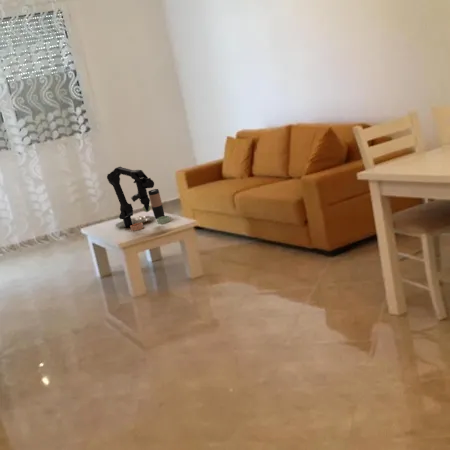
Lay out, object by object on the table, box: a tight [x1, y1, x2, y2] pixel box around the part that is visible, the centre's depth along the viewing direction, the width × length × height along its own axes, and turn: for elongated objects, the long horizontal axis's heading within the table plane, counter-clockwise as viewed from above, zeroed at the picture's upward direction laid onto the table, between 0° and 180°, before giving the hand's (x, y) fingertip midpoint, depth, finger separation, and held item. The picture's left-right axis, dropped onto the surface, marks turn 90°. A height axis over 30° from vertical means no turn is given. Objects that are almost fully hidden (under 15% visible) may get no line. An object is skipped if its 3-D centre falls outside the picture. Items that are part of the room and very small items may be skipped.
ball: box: [142, 205, 151, 213], centre depth 480 cm, size 5×5×5 cm
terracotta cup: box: [129, 222, 145, 232], centre depth 481 cm, size 8×8×3 cm
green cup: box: [156, 215, 171, 225], centre depth 484 cm, size 8×8×3 cm
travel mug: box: [147, 188, 166, 220], centre depth 499 cm, size 8×8×20 cm
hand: (147, 210), depth 480 cm, fingers closed on ball, 5 cm apart
